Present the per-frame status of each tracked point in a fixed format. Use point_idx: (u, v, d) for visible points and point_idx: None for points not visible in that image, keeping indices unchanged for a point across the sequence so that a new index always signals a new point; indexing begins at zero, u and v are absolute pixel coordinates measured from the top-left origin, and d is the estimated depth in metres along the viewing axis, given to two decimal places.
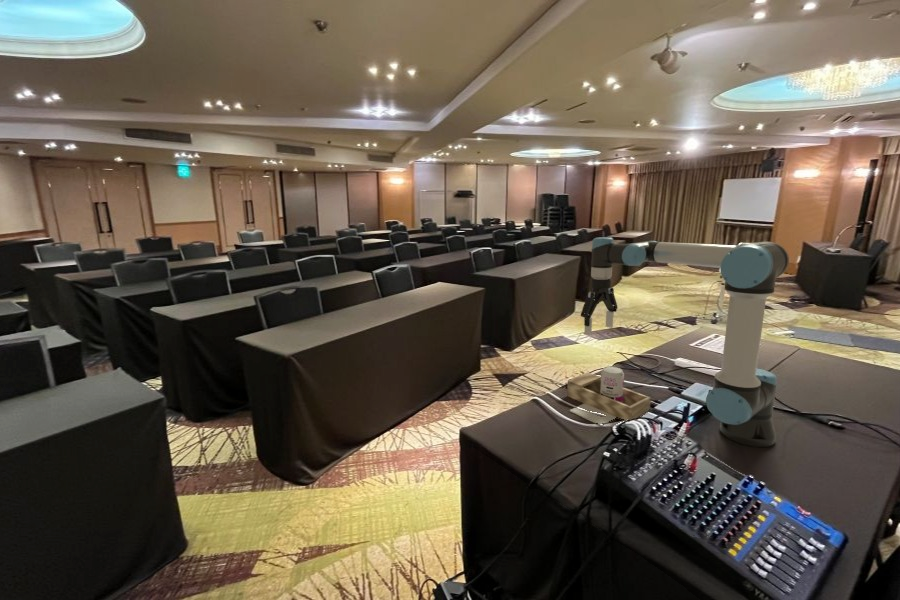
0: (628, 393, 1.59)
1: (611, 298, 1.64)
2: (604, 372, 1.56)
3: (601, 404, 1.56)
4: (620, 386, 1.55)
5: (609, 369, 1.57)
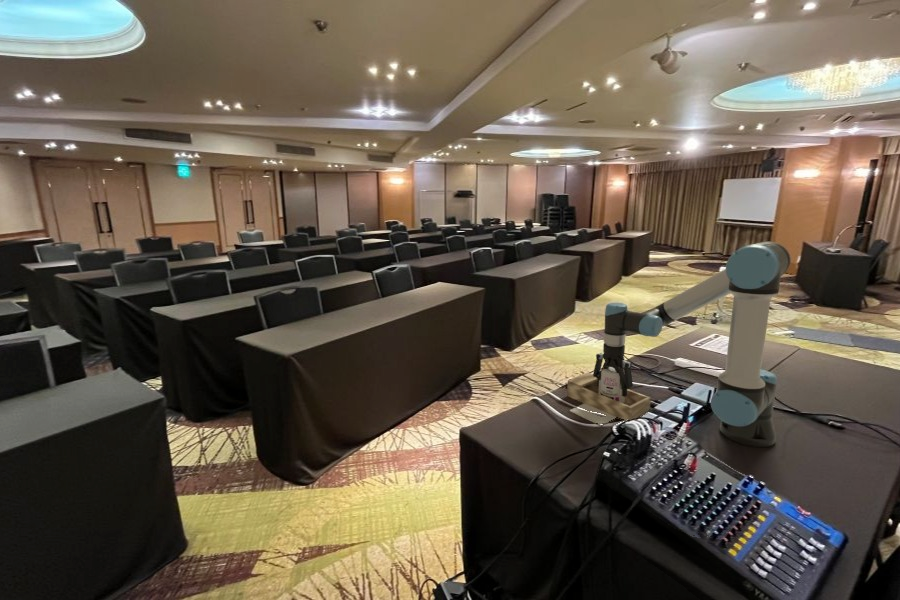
0: (628, 393, 1.59)
1: None
2: (604, 372, 1.56)
3: (601, 404, 1.56)
4: (620, 386, 1.55)
5: (609, 369, 1.57)
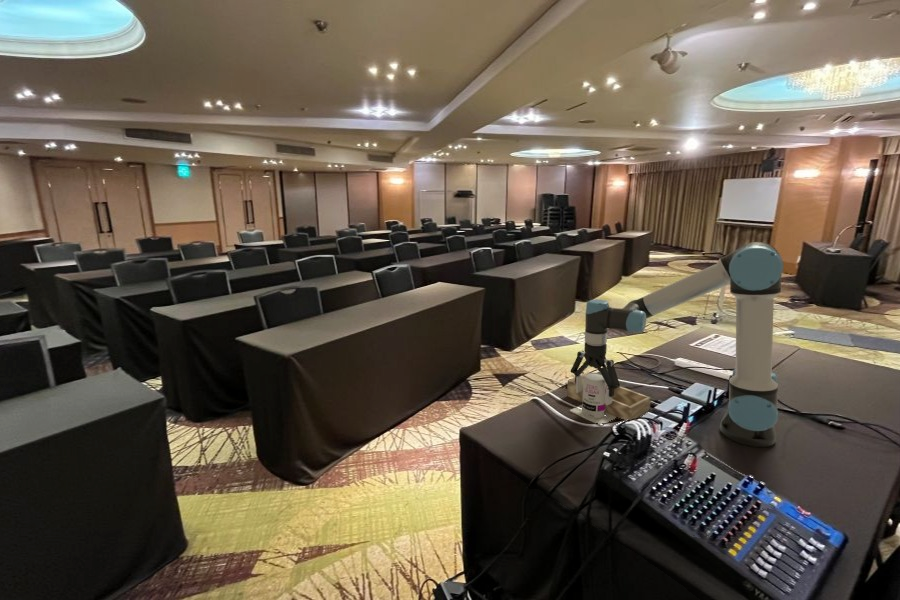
0: (628, 393, 1.59)
1: None
2: (586, 379, 1.50)
3: None
4: (602, 394, 1.48)
5: (591, 376, 1.51)
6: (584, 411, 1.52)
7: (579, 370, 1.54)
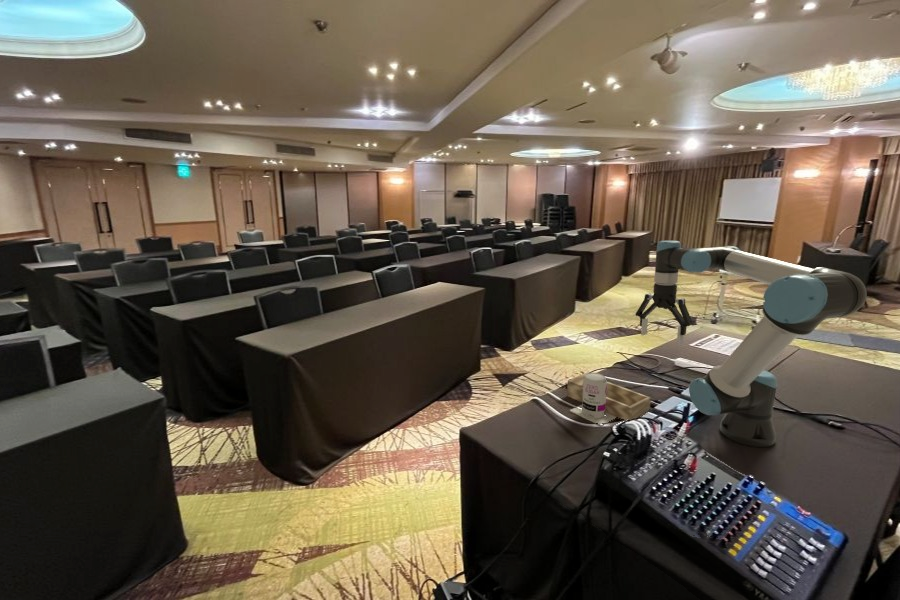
0: (628, 393, 1.59)
1: None
2: (586, 379, 1.50)
3: None
4: (602, 394, 1.48)
5: (591, 376, 1.51)
6: (584, 411, 1.52)
7: (646, 312, 1.57)
